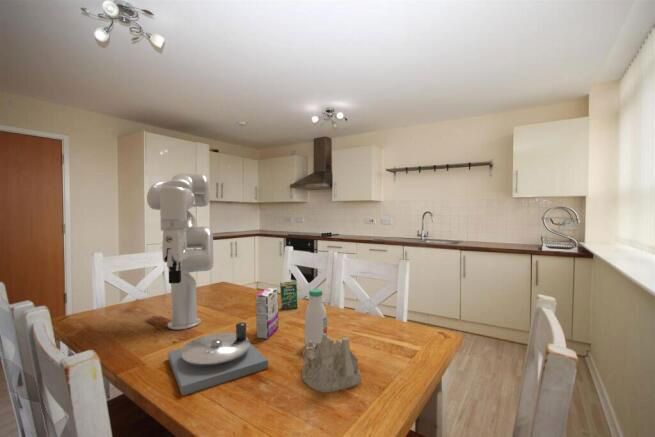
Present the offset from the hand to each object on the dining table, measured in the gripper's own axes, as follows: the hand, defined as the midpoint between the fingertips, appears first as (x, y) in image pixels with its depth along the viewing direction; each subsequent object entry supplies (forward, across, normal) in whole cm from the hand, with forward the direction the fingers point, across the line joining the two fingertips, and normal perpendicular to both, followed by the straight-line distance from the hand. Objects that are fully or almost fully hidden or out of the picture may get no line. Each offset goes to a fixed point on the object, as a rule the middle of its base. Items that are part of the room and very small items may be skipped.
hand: (175, 282), depth 98 cm
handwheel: (+21, -5, -13) cm, 26 cm away
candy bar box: (+25, +17, -29) cm, 42 cm away
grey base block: (+25, -5, -13) cm, 29 cm away
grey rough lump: (+26, -18, -47) cm, 57 cm away
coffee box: (+25, +46, -38) cm, 65 cm away
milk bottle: (+25, +1, -46) cm, 52 cm away
